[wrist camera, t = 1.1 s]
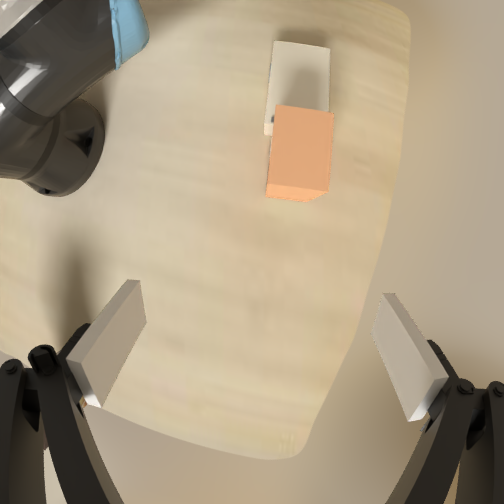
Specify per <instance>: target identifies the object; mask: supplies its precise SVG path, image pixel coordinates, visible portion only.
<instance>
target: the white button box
mask: <svg viewBox="0 0 504 504" xmlns="http://www.w3.org/2000/svg"><path fill="white" fill-rule="evenodd" d="M329 84H330V48H324V47H319V46H313V45H307V44H300V43H293V42H284V41H275V40H274V45H273V54H272V62H271V65H270V73H269V88H268V97H267V105H266V114H265V123H264V135H269V136H272V134H273V125H274V116H275V107H276V105H285V106H292V107H300V108H306V109H313V110H319V111H325V112H328V109H329Z"/></svg>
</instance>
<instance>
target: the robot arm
mask: <svg viewBox="0 0 504 504" xmlns="http://www.w3.org/2000/svg"><path fill="white" fill-rule="evenodd" d="M148 40H149V29H148V25H147V22H146V19H145V16H144V13H143V11H142V8H141V6H140V3H139V1H138V0H0V178H8V179H18V180H21V181H23V182H24V183H25V184H27V185H28V186H30V187H31V188H33V189H34V190H35V191H37V192H38V193H40V194H43V195H46V196H54V197H62V196H66V195H69V194H71V193H73V192H75V191H76V190H77V189H79V188H80V187H81V186H82V185H83V184H84V183H85V182H86V181H87V180H88V178H89V177H90V176H91V174H92V173H93V171H94V169H95V167H96V165H97V163H98V161H99V158H100V155H101V152H102V148H103V143H104V126H103V121H102V118H101V116H100V114H99V112H98V111H97V110H96V109H95V108H94V107H93V106H92V105H90V104H89V103H87V102H85V101H83V100H81V99H78V98H77V97H79V96H80V95H81V94H82V93H84V92H85V91H86V90H87V89H89V88H90V87H91V86H92V85H94V84H95V83H96V82H98V81H99V80H100V79H102V78H103V77H104V76H106V75H107V74H109V73H110V72H111V71H113V70H114V69H115V70H117V69H119V68H120V66H121V64H123V63H124V62H126V61H127V60H128V59H130V58H131V57H133V56H134V55H136V54H137V53H139V52H140V51H141V50H143V49H144V48H145V46H146V45H147V43H148ZM145 324H146V316H145V310H144V304H143V298H142V292H141V285H140V281H139V280H128V279H127V281H126V282H125V283H124V284H123V285H122V287H121V288H120V289H119V290H118V291H117V293H116V294H115V295H114V296H113V298H112V299H111V300H110V301H109V303H108V304H107V305H106V306H105V308H104V309H103V310H102V311H101V313H100V314H99V315H98V316H97V318H96V319H95V320H94V322H93V323H92V324H88V323H85V324H84V325H82V326H81V327H79V328H78V329H77V330H76V332H75V333H74V334H73V337H71V338H70V339H69V340H68V342H67V343H66V344H65V346H64V347H63V348H62V350H61V351H60V352H59V353H58V355H56V352H55V350H54V348H53V347H52V346H50V345H46V344H45V345H39V346H37V347H35V348H33V349H32V350H31V351H30V353H29V354H28V360H29V362H30V364H31V366H32V368H24V367H23V365H22V363H21V361H20V360H18V359H11V360H8V361H6V362H5V363H4V364H2V366H1V368H0V504H46V494H45V481H44V456H43V455H44V453H43V452H44V430H45V434H46V438H47V442H48V446H49V450H50V454H51V458H52V461H53V464H54V468H55V471H56V474H57V477H58V480H59V483H60V486H61V489H62V491H63V494H64V497H65V499H66V502H67V504H124V502H123V501H122V499H121V497H120V495H119V493H118V491H117V489H116V487H115V485H114V483H113V482H112V479H111V478H110V475H109V473H108V471H107V469H106V467H105V465H104V462H103V460H102V458H101V456H100V453H99V451H98V449H97V446H96V444H95V441H94V439H93V436H92V433H91V431H90V428H89V425H88V423H87V420H86V417H85V414H84V411H83V408H82V405H81V403H80V402H79V401H80V400H81V398H82V396H83V397H84V399H85V400H86V402H87V404H90V405H93V406H97V407H100V408H102V406H103V404H104V402H105V400H106V398H107V396H108V394H109V392H110V390H111V388H112V386H113V384H114V382H115V380H116V378H117V376H118V374H119V372H120V370H121V368H122V367H123V365H124V363H125V361H126V359H127V357H128V355H129V353H130V351H131V350H132V348H133V346H134V344H135V342H136V340H137V339H138V337H139V335H140V333H141V331H142V329H143V328H144V326H145ZM371 335H372V337H373V340H374V342H375V344H376V346H377V348H378V350H379V353H380V355H381V357H382V360H383V362H384V364H385V367H386V369H387V371H388V373H389V376H390V378H391V381H392V383H393V385H394V388H395V390H396V393H397V395H398V398H399V400H400V403H401V405H402V408H403V410H404V413H405V415H406V418H407V421H408V422H409V421H414V420H419V419H422V418H423V417H424V415H425V413H426V412H427V411H428V412H429V415H430V418H429V419H428V421H427V422H426V423H425V425H424V426H423V427H422V429H421V430H420V431H423V432H422V435H421V437H420V439H419V441H418V444H417V446H416V448H415V450H414V452H413V454H412V456H411V458H410V461H409V462H408V465H407V466H406V468H405V470H404V472H403V474H402V476H401V478H400V480H399V482H398V483H397V485H396V487H395V488H394V490H393V492H392V494H391V495H390V497H389V499H388V500H387V502H386V503H385V504H443V503H444V501H445V499H446V496H447V494H448V491H449V488H450V486H451V484H452V481H453V478H454V475H455V473H456V469H457V467H458V464H459V461H460V468H459V477H458V486H457V494H456V500H455V504H504V384H503V383H501V382H498V381H493V382H491V383H490V384H489V386H488V387H487V389H476V388H475V387H474V385H473V384H472V383H471V382H470V381H468V380H466V379H462V378H461V379H459V377H458V376H457V374H456V372H455V371H454V369H453V367H452V366H451V365H450V363H449V361H448V360H447V358H446V356H445V355H444V354H443V352H442V351H441V349H440V347H439V346H438V345H437V344H436V343H435V342H433V341H432V340H426V339H425V337H424V336H423V334H422V333H421V331H420V330H419V328H418V327H417V325H416V324H415V322H414V321H413V319H412V318H411V316H410V315H409V313H408V312H407V310H406V309H405V308H404V306H403V305H402V303H401V302H400V300H399V299H398V298H397V296H396V295H395V293H383V294H382V298H381V301H380V305H379V308H378V312H377V315H376V318H375V321H374V325H373V328H372V331H371ZM423 429H424V430H423Z"/></svg>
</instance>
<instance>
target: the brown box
mask: <svg viewBox="0 0 504 504" xmlns="http://www.w3.org/2000/svg"><path fill="white" fill-rule="evenodd" d="M333 123H334V113H330V112H325V111H319V110H313V109H306V108H300V107H292V106H285V105H276V107H275V116H274V125H273V134H272V139H271V148H270V157H269V158H270V161H269V170H268V179H267V188H266V197H272V198H280V199H288V200H296V201H304V202H307V201H309V200H312V199H314V198H316V197H318V196H320V195H323V194H325V193H327V192H328V191H329V180H330V168H331V155H332V140H333Z"/></svg>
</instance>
